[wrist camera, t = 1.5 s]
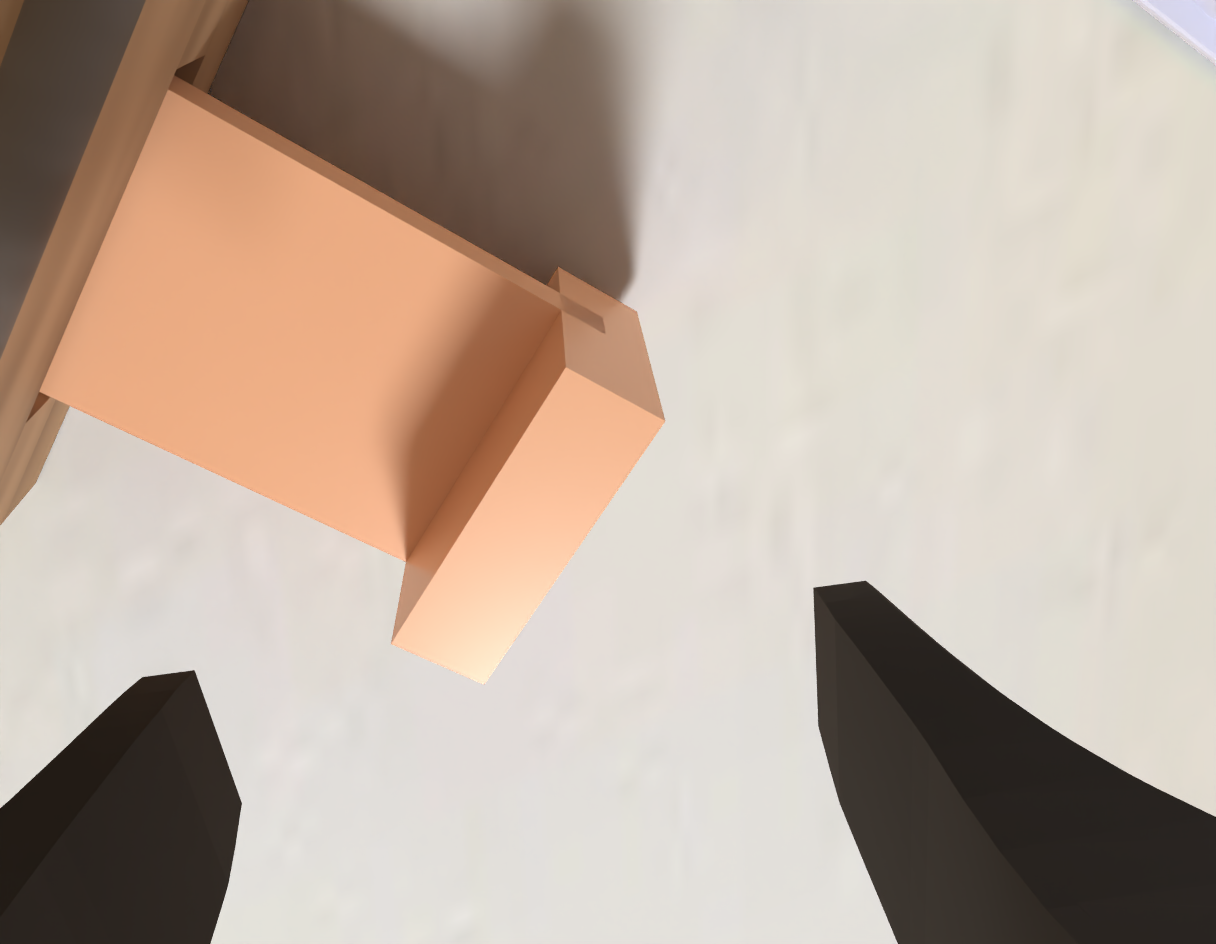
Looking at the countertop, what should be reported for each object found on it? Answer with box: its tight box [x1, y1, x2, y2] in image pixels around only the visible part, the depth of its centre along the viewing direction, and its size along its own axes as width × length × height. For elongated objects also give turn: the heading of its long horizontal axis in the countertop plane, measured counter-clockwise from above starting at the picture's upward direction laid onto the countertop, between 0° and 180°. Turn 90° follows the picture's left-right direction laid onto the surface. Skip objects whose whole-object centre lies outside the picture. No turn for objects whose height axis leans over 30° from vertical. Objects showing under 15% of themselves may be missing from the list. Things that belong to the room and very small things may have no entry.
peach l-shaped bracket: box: [39, 75, 665, 684], centre depth 17 cm, size 14×5×5 cm, turn 58°
